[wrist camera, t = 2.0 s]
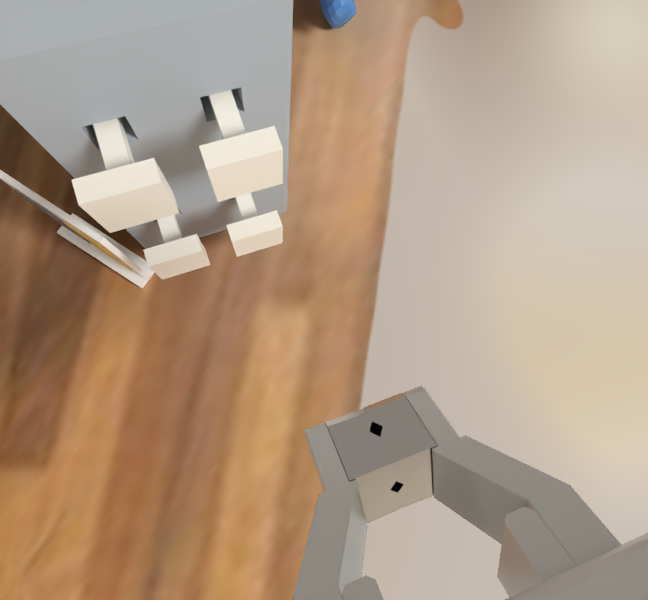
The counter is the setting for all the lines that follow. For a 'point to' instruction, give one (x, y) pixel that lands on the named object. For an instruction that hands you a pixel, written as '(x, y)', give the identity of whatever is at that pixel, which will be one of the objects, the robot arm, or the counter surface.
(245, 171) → the button top right
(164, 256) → the button bottom left
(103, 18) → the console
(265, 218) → the button bottom right
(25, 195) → the card
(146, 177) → the button top left
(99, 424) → the counter surface
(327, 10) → the grapes
